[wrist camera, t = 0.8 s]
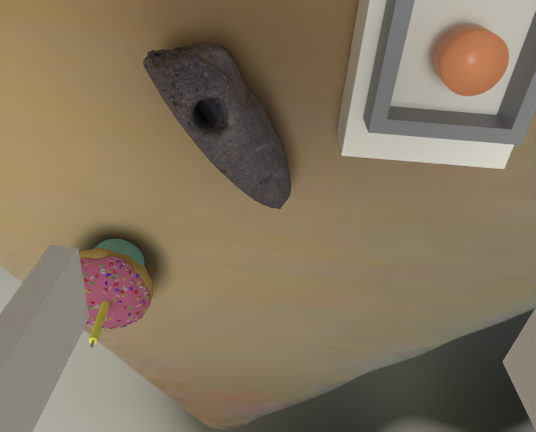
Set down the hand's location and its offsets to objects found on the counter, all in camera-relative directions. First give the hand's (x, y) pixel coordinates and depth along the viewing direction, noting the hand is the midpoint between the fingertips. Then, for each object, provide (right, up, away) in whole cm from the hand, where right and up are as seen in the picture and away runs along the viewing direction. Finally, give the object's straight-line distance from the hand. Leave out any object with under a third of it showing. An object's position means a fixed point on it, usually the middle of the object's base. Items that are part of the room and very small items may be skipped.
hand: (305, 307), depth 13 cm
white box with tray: (+11, +15, +19) cm, 27 cm away
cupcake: (-16, -1, +31) cm, 35 cm away
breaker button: (+11, +13, +14) cm, 22 cm away
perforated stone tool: (-4, +11, +23) cm, 25 cm away
